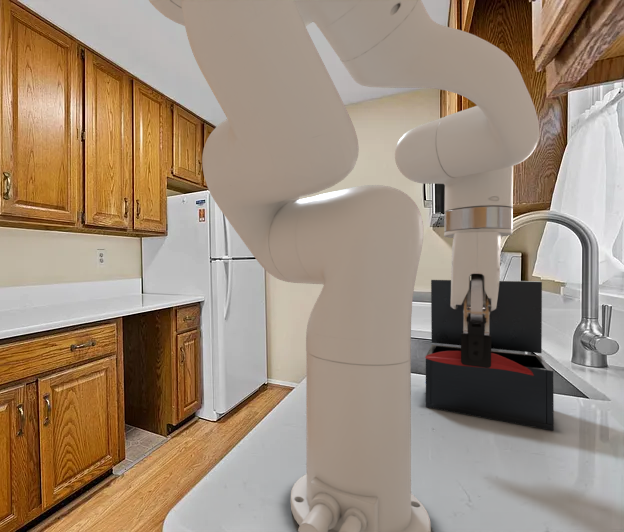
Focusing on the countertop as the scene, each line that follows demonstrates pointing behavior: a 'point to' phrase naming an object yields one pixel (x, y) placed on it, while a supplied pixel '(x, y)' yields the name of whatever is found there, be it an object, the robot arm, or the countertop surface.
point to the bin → (493, 390)
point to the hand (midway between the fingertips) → (475, 361)
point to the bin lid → (493, 316)
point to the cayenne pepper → (496, 363)
